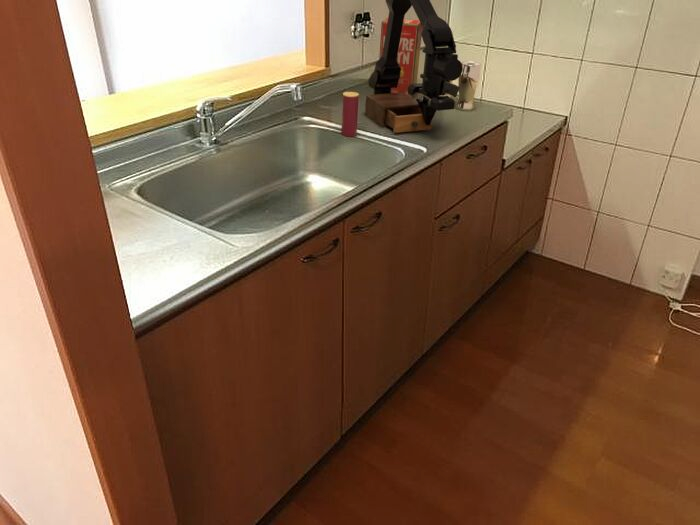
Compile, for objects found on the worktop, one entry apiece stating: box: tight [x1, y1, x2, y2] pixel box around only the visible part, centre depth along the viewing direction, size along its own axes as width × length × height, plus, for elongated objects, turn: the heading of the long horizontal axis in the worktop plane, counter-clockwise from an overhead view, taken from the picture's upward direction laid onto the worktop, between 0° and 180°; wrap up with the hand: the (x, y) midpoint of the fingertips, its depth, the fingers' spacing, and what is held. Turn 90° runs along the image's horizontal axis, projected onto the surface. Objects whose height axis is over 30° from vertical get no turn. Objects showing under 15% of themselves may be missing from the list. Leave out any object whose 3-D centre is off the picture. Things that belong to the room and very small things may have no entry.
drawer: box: [384, 107, 433, 133], centre depth 184 cm, size 14×12×5 cm
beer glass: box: [455, 60, 482, 112], centre depth 203 cm, size 7×7×15 cm
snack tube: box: [341, 91, 360, 138], centre depth 175 cm, size 4×4×12 cm
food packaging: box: [378, 17, 422, 98], centre depth 213 cm, size 13×9×25 cm
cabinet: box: [364, 92, 419, 128], centre depth 191 cm, size 13×13×6 cm
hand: (427, 124), depth 180 cm, fingers closed
